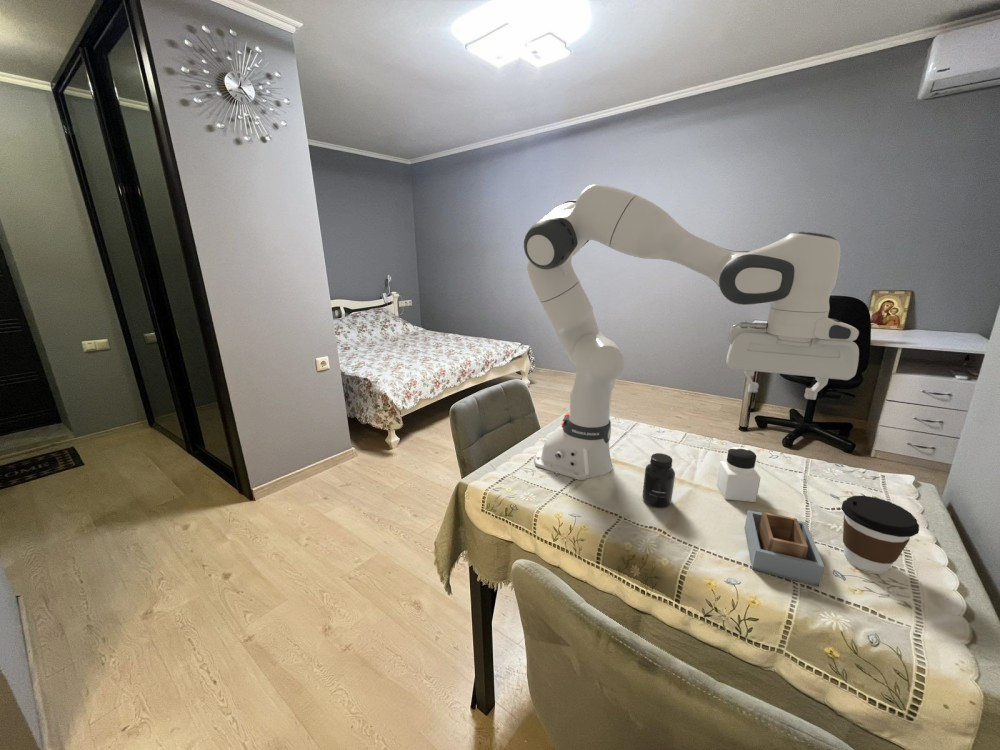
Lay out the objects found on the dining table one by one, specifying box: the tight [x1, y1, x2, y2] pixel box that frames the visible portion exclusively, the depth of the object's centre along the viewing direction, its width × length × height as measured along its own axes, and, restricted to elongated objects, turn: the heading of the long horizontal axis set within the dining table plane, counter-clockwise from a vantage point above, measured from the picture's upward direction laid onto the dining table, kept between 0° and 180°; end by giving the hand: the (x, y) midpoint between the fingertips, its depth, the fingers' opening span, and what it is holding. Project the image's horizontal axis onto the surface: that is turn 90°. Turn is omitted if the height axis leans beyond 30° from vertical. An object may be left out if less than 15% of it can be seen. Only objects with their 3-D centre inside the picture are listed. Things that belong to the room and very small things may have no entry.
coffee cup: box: [840, 495, 920, 575], centre depth 78 cm, size 11×11×12 cm
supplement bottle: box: [642, 452, 676, 509], centre depth 99 cm, size 7×7×12 cm
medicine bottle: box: [716, 446, 761, 503], centre depth 101 cm, size 7×7×12 cm
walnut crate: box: [758, 511, 808, 560], centre depth 80 cm, size 6×9×6 cm, turn 156°
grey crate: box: [744, 509, 825, 588], centre depth 81 cm, size 11×14×4 cm
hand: (780, 395), depth 78 cm, fingers open, 8 cm apart
